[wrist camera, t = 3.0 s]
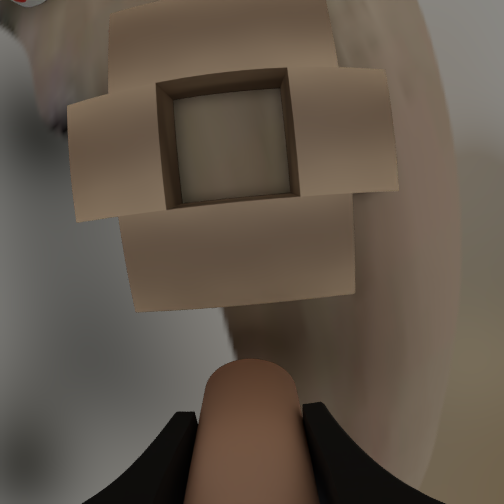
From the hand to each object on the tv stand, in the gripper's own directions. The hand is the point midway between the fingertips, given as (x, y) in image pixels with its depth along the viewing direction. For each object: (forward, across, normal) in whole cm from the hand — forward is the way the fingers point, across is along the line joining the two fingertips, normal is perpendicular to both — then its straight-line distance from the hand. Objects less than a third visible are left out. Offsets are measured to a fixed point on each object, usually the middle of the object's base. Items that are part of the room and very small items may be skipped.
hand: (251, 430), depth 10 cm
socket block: (+7, 0, -10) cm, 12 cm away
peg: (+2, 0, 0) cm, 2 cm away
